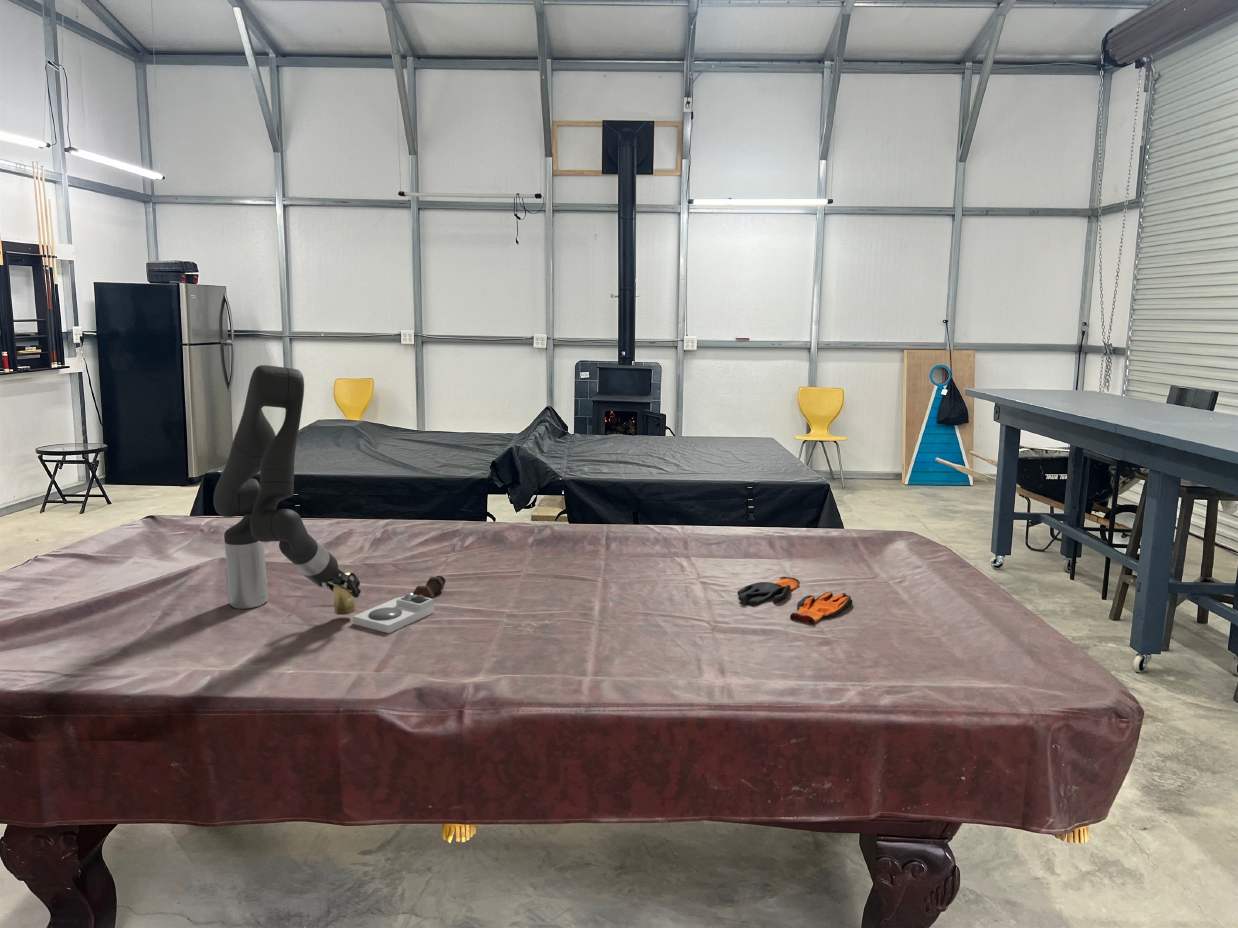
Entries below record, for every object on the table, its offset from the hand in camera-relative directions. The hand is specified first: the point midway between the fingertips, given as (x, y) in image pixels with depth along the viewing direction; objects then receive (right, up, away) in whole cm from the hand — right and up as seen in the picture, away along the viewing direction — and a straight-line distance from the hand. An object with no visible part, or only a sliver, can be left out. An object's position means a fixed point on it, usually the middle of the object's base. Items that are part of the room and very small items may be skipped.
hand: (348, 592), depth 210 cm
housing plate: (+12, -6, 0) cm, 13 cm away
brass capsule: (-1, -4, -1) cm, 5 cm away
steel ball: (+15, -2, +3) cm, 15 cm away
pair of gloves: (+115, -5, +13) cm, 116 cm away
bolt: (+18, -4, +16) cm, 24 cm away
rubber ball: (+18, -2, +2) cm, 18 cm away
